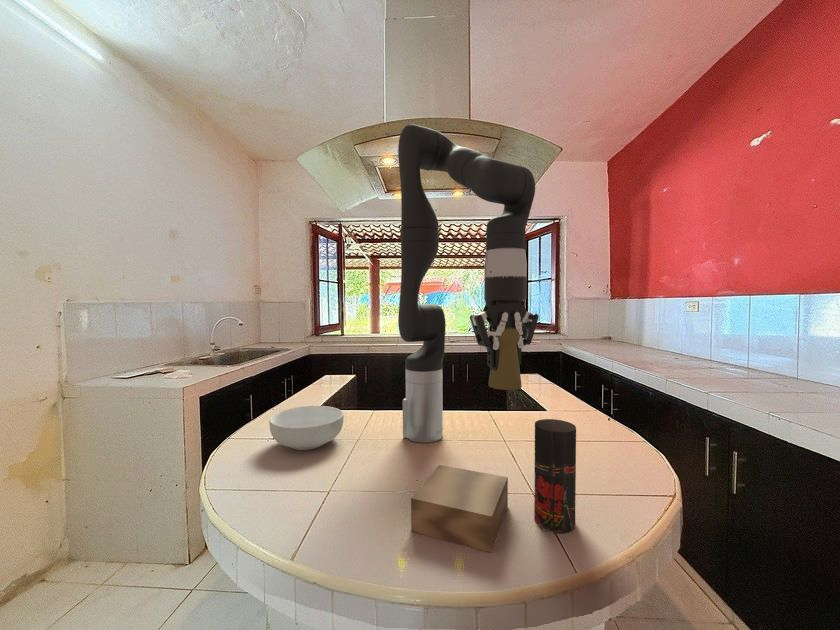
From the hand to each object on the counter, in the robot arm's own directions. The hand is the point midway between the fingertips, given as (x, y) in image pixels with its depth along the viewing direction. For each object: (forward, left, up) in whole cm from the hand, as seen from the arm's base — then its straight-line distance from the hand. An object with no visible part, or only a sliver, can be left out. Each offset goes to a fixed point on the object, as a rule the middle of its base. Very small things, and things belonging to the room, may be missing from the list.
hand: (504, 368), depth 68 cm
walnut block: (-4, -14, -22) cm, 26 cm away
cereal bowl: (-47, +1, -22) cm, 52 cm away
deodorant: (+9, -9, -22) cm, 25 cm away
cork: (0, 0, -4) cm, 4 cm away
